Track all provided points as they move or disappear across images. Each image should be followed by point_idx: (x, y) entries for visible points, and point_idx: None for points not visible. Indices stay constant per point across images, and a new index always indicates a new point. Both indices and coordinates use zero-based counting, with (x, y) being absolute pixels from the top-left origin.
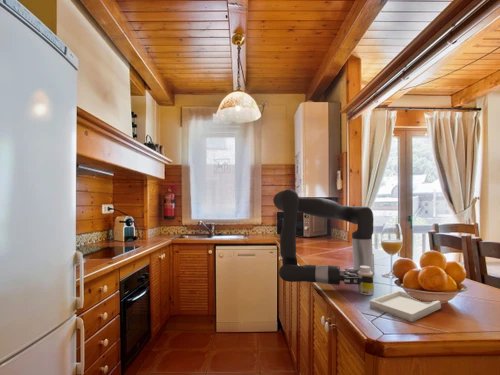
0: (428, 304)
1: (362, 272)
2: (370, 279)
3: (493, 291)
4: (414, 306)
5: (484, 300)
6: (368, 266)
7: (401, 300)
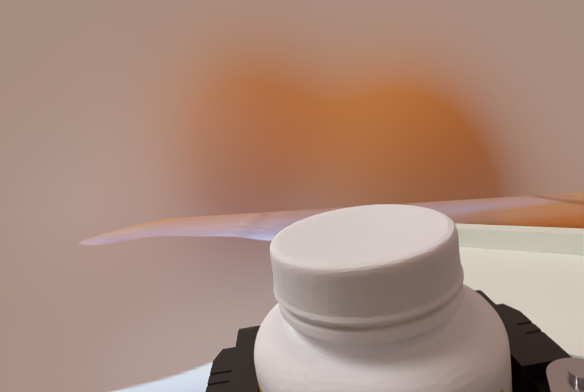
0: (511, 230)
1: (460, 320)
2: (513, 316)
3: (181, 218)
4: (532, 275)
5: (272, 218)
6: (318, 217)
7: None
